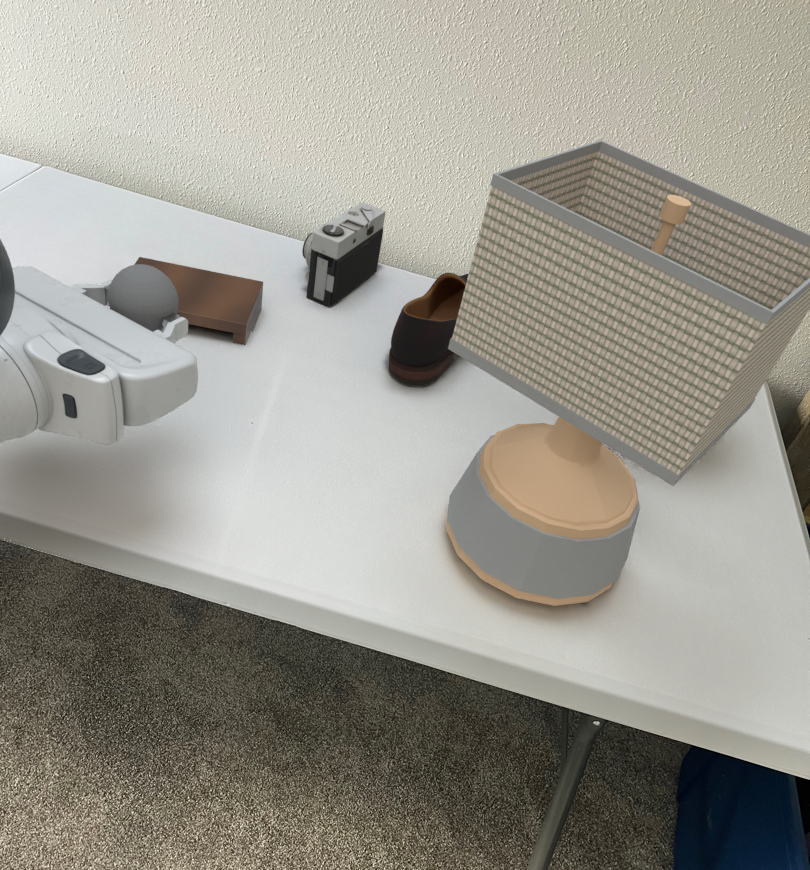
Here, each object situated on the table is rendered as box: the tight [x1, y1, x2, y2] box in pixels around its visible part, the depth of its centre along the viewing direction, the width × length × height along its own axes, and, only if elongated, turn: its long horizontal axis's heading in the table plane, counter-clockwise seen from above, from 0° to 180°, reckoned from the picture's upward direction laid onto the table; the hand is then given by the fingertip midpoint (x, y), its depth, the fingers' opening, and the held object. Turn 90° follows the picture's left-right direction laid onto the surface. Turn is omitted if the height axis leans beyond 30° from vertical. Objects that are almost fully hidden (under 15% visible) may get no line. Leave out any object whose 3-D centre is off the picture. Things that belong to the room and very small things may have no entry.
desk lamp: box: [445, 139, 810, 607], centre depth 69 cm, size 22×19×37 cm
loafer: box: [388, 272, 469, 387], centre depth 104 cm, size 10×28×10 cm, turn 154°
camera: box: [301, 201, 387, 309], centre depth 110 cm, size 14×8×10 cm, turn 154°
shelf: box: [133, 256, 264, 346], centre depth 99 cm, size 16×11×4 cm
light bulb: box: [108, 264, 178, 332], centre depth 71 cm, size 6×6×10 cm
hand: (151, 306), depth 71 cm, fingers closed on light bulb, 6 cm apart
